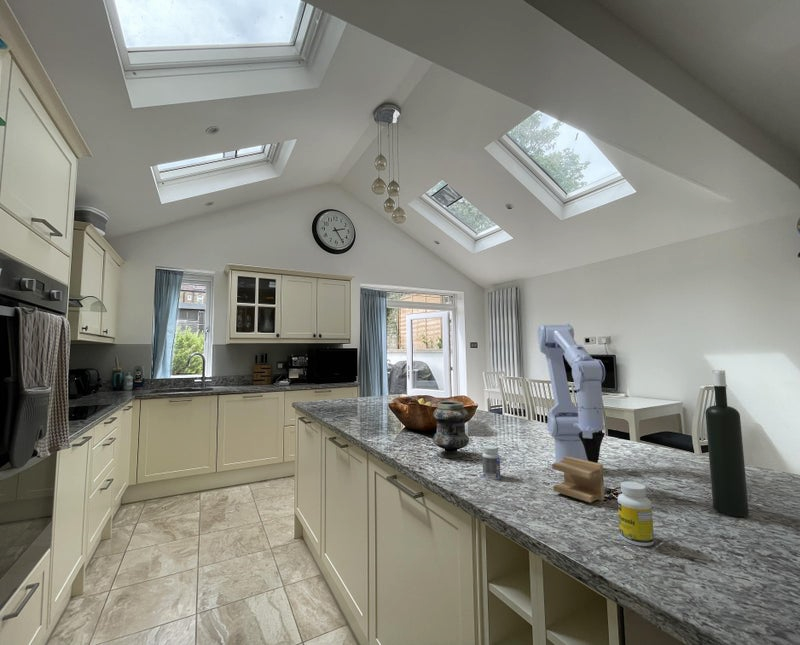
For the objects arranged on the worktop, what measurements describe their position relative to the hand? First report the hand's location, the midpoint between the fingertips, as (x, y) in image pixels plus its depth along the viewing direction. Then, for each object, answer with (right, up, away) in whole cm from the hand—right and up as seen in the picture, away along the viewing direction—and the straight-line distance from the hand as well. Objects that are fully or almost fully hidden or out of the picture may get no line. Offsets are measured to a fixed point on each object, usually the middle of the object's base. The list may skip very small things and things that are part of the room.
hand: (593, 462), depth 94 cm
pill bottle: (-23, -8, +10) cm, 26 cm away
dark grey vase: (-32, -10, +31) cm, 45 cm away
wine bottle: (+22, -5, -14) cm, 27 cm away
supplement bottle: (-5, -5, -25) cm, 26 cm away
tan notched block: (-9, -2, -7) cm, 11 cm away
